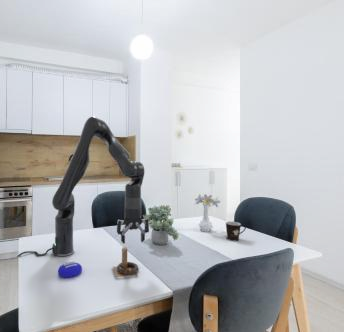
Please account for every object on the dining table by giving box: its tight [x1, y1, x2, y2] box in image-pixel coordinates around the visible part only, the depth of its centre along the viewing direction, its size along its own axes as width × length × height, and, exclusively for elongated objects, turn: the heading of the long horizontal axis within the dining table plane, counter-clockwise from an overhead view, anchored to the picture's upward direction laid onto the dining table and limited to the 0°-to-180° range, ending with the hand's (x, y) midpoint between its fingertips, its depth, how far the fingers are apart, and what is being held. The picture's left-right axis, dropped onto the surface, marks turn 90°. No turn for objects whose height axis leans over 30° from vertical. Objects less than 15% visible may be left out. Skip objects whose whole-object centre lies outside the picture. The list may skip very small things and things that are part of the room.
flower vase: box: [194, 193, 221, 232], centre depth 170 cm, size 13×18×25 cm
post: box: [112, 247, 138, 278], centre depth 109 cm, size 9×9×11 cm
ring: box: [116, 261, 140, 276], centre depth 109 cm, size 10×10×2 cm
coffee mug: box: [225, 220, 246, 242], centre depth 152 cm, size 12×9×10 cm
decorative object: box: [57, 260, 83, 279], centre depth 107 cm, size 10×6×10 cm
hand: (132, 242), depth 109 cm, fingers open, 8 cm apart
